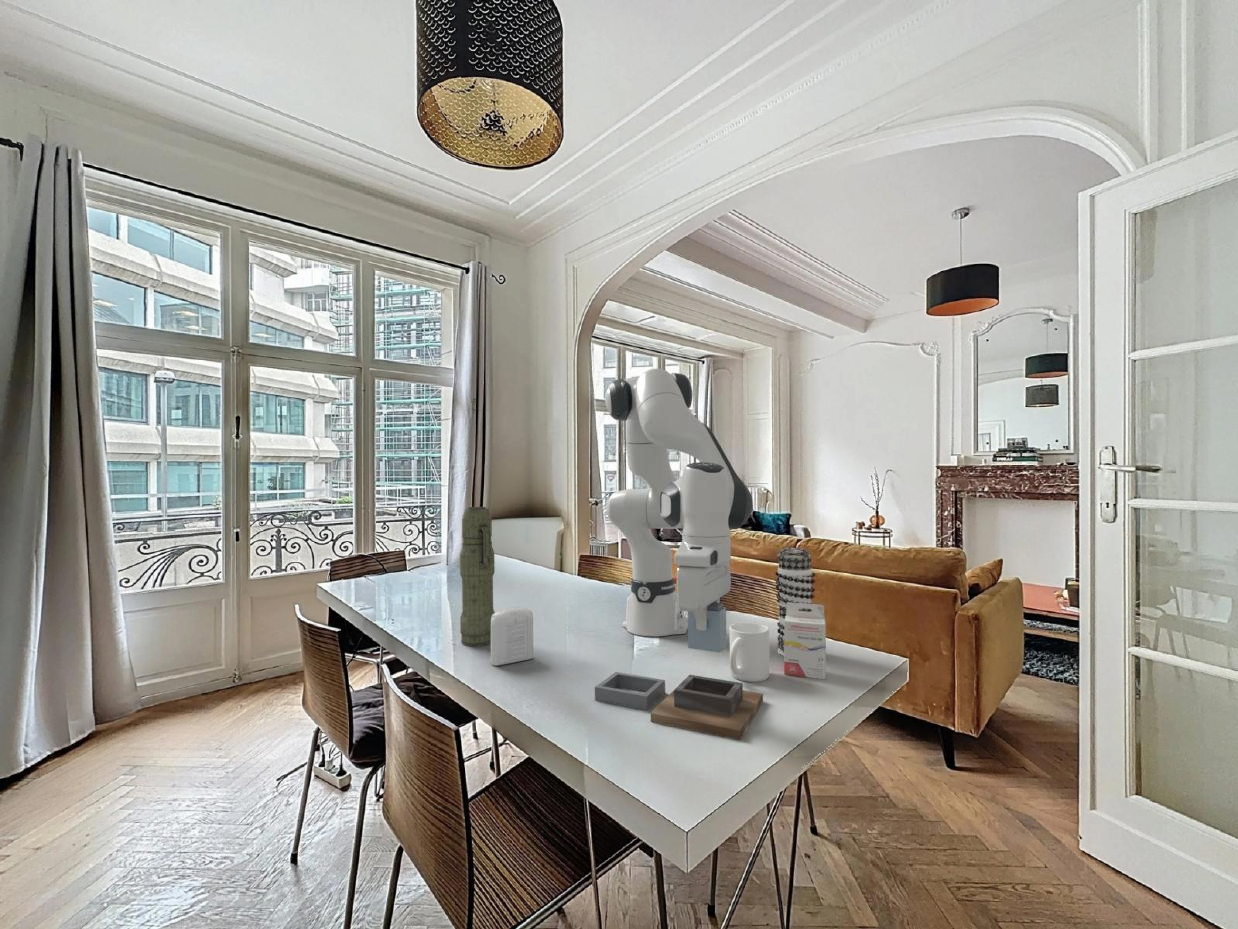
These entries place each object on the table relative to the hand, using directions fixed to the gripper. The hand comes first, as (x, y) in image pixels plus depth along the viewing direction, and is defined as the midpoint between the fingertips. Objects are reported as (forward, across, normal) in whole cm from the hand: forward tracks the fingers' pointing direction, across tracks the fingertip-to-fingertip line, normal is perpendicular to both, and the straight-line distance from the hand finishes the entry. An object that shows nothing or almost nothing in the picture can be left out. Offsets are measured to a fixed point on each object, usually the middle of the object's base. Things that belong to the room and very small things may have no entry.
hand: (707, 625), depth 104 cm
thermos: (+16, -16, -68) cm, 72 cm away
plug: (+4, 0, 0) cm, 4 cm away
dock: (+16, 0, 0) cm, 16 cm away
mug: (+16, -19, +2) cm, 25 cm away
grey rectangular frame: (+16, 0, -16) cm, 22 cm away
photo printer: (+16, -7, -50) cm, 53 cm away
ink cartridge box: (+16, -28, +13) cm, 34 cm away
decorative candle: (+15, -40, +9) cm, 44 cm away
